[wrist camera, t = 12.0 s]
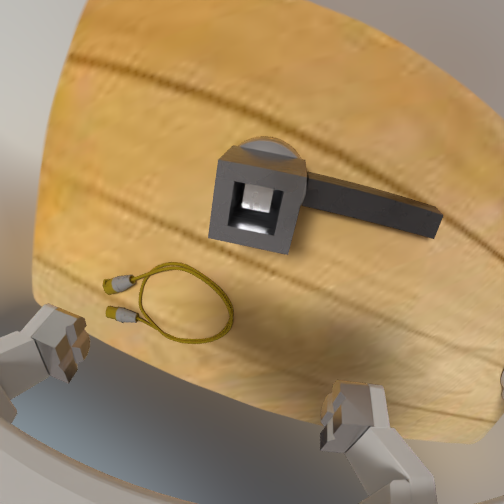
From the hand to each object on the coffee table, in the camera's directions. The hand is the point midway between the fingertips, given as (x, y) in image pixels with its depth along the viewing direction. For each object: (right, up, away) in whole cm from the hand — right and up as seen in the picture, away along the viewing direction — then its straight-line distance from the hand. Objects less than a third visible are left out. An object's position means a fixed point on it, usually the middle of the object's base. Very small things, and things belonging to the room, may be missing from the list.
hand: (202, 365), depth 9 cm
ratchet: (+9, +9, +18) cm, 22 cm away
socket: (+2, +9, +16) cm, 18 cm away
